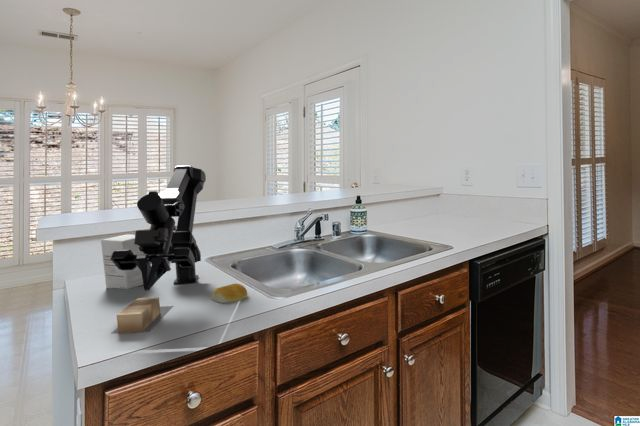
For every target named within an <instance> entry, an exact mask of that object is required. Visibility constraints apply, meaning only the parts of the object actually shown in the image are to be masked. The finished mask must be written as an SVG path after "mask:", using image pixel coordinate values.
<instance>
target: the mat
mask: <svg viewBox="0 0 640 426" xmlns="http://www.w3.org/2000/svg"><path fill="white" fill-rule="evenodd" d="M173 307H174V305H166V306H165V305H163V306H160V314H159V315H158V316H157V317H156V318H155V319H154V320H153V321H152V322H151V323H150V325H149V326H148V327H147V328H146V329H145V330H144V331H143V332H142V333H149V332H150V331H152V329H154V327H156V325H157V324H158V323H159V322H160V321H161V320H162V319H163V318H164V317H165V316H166V315H167V313H168V312H169V311H171V309H173ZM129 333H131V334H132V332H128V334H129ZM111 334H119V333H118V327H117V328H115V329H114V330H113V331H112V332H111Z"/></svg>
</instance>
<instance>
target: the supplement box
mask: <svg viewBox="0 0 640 426" xmlns="http://www.w3.org/2000/svg"><path fill="white" fill-rule="evenodd" d="M134 241H135V234H130V233H129V234H128V233H127V234H123V235H117V236H112V237H108V238H104V239H101V240H100V244H101V252H102V253H101V254H102V263H103V271H104V278H105V287H106V289H122V290H130V289H132V288H136V287H138V288H139V286H143V279H142V272H141V270H140V269H139V268H138V266H137V267H136V268H134V269H133V270H119V269H118V268H117V266H116V265H115V264H114V263H113V262H112V260H111V259H110V258H111V255H112V253H113V252H114V251H115V250H131V251H132V253H133V254H134V255H136V254H137V253H143V251H140V250H139V247H140V246H139V245H137V244H136V245H135V244H134Z"/></svg>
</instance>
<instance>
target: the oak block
mask: <svg viewBox="0 0 640 426" xmlns="http://www.w3.org/2000/svg"><path fill="white" fill-rule="evenodd" d="M160 305H161V303H160V297H158V296H157V297H156V296H155V297H138V298H136V299H135V300H133V301H132V302H131V303H130V304H129V305H127V306H126V307H125V308H124V309H122V310H121V311H119V312H118V313H117V314H116V321H117V328H118V333H117V334H127V333H128V332H131V333H144V332H143V331H144V330H145V329H146V328H147V327H148V326H149V325H150V323H151V322H152V321H153V320H154V319H155V318H156V317H157V316H158V315H159V314H160V307H161V306H160ZM128 334H129V333H128Z"/></svg>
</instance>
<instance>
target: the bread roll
mask: <svg viewBox="0 0 640 426" xmlns="http://www.w3.org/2000/svg"><path fill="white" fill-rule="evenodd" d="M247 297H248V290H247V288H246V287H245V286H244V285H243V284H241V283H232V284H228V285H225V286H220V287H217V288H216V289H214V290H213V292H212V295H211V299H212V301H214V302H217V303H221V304H226V303H227V304H228V303H233V302H236V301H243V300H245V299H246V298H247Z"/></svg>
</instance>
